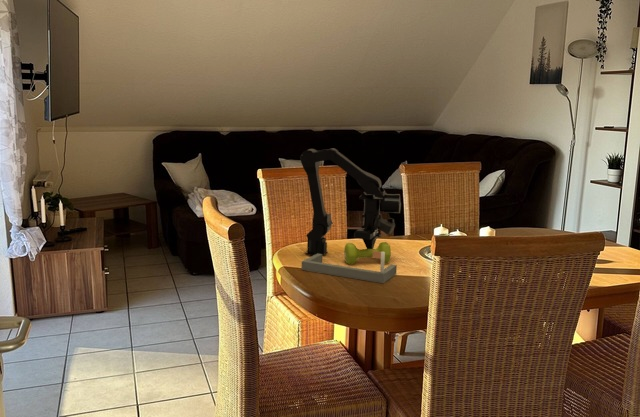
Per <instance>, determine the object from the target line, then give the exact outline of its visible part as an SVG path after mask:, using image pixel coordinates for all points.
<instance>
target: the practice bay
mask: <svg viewBox="0 0 640 417" xmlns="http://www.w3.org/2000/svg"><path fill="white" fill-rule="evenodd" d="M323 256H324V255H323V254H318V253H317V254H315V255H310V257H308V258H306V259H304V260H302V261H301V271H307V272H312V273H319V274H324V275H331V276H338V277H342V278H347V279H348V278H349V279H355V280H362V281H367V282H374V283H380V284H385V283H387V282H388V281H389V280H390V279H391V278H393V277H394V276H396V274H397V271H398V270H397V264H389V265H388V266H387V267H386V268H385V263H384V262H385V252H378V251H373V257H372V258H373V259H377V260H379V259H381V262H380V271H377V270H371V269H364V268H358V267H350V266H345V265H338V264H332V263H325V262H323Z"/></svg>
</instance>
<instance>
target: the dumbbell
mask: <svg viewBox="0 0 640 417" xmlns="http://www.w3.org/2000/svg"><path fill="white" fill-rule="evenodd" d="M391 250H392V249H391V245H390V244H389V243H388V242H386V241H382V242H380V243H379V245H378V246H377V248H373V249H367V248H364V249H363V248H362V249H359V248H358V247H357V246H356V244H355V243H353V242H346V243H345V245H344V260H345V263H346V264H348V265H355V263H356V262H357V260H358V259H359V258H360V259H361V258H362V259H364V258H373V251H378V252H385V262H384V264H389V263H390V262H391V256H392V251H391ZM378 261H379V262H380V263H381V259H378Z"/></svg>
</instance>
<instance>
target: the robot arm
mask: <svg viewBox="0 0 640 417" xmlns="http://www.w3.org/2000/svg"><path fill="white" fill-rule="evenodd" d="M299 160H300V163H301V165H302V169H303V170H304V172H305V174H306V176H307V181H308V182H307V183H308V188H309V193H310V199H311V200H310V201H311V205H312V210H313V214H312V229H311V230H309V231H308V233H306V238H307V245H306V247H307V248H306V250H307V251H306V252H305V255H307V256H313V255H315V254H317V253H318V254H323V256H324V255H326V254H328V242H327V237H325V236H326V234H328V233H329V231H331V229H332V224H334V223H333V220H332V213H331V212H330V213H328V212H327V210H326V208H325V203H324V197H323V196H324V195H323V191H322V185H321V180H320V174H319V173H320V164H321V162H324V161H331V162H332V163H334V164H335V165H336V166H337V167H339V168H340V169H342V170H343V171H344V172H345V173H347V174H348V175H349V176H351V178H353V179H354V180H356V182H357V184H358V185H359V186H360V187H361V188H362V189H363V192H362V193H361V195H360V196H359V197H358V199H359V200H363V203H364V204H363V213H362V214H361V218H363V224H362V225H361V228H358V229H356V230H355V231H354V232H353V238H354V239H359V240H360V239H361V240H362V241H363V243H364V246H365V247H366V248H365V249H375V248H374V247H375V244H376V241H377V239H378V238H379V237H380V236H381V235H382V233H381V232H383V233H384V234H385V235H390V234H392V233H393V231H394V229H395V228H396V223H395V218H392V217H390V218H388V219H387V218H385V219H384V218H383V215H382V213H381V212H380V211H381V210H382V211H383V213H390V214H400V213H401V207H402V202H401V194H400V193H395V194H394V193H393V194H392V193H387V192H386V190H385V188H384V187H383V186H382V180H381V179H380V177H378V176H376V175H374V174H373V173H370V172H367V171H365V170H363V169H362V168H360V167H359V166H358V165H356V164H355V163H354V162H352V161H351V160H350V159H349V158H348V157H347V156H345V155H344V154H343V153H341V152H339V150H338V149H336V148H334V147H333V148H329V149H321V150H317V149H315V148H309V149H306V150H303V151H302V153H300V156H299ZM379 231H380V233H379Z"/></svg>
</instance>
